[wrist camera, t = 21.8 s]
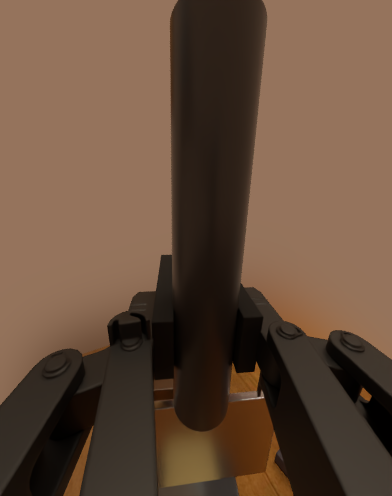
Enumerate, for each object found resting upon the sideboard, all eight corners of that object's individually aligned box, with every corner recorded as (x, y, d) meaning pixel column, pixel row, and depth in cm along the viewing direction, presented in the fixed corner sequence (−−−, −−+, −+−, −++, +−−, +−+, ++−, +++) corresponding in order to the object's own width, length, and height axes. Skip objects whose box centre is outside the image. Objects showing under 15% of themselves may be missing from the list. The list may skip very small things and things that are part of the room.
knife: (117, 528, 9) (24, -55, 4) (129, 457, 12) (84, 43, 6) (274, 501, 10) (395, 5, 5) (255, 441, 13) (317, 69, 7)
